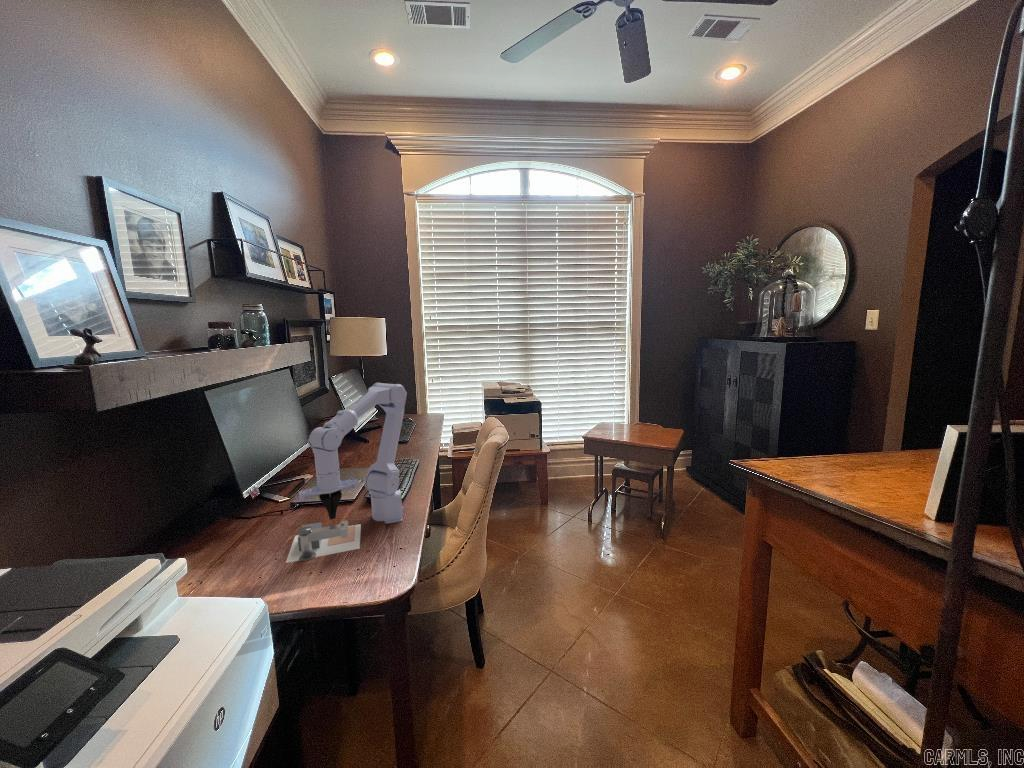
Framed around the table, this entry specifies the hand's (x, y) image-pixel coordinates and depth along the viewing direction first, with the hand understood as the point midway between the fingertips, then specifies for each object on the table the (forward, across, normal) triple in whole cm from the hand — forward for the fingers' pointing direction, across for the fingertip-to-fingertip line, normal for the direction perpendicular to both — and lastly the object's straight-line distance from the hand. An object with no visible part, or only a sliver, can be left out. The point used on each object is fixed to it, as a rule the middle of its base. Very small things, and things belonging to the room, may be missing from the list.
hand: (332, 517), depth 106 cm
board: (+9, +2, -3) cm, 10 cm away
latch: (+8, +3, +3) cm, 9 cm away
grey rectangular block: (+8, +5, -5) cm, 11 cm away
